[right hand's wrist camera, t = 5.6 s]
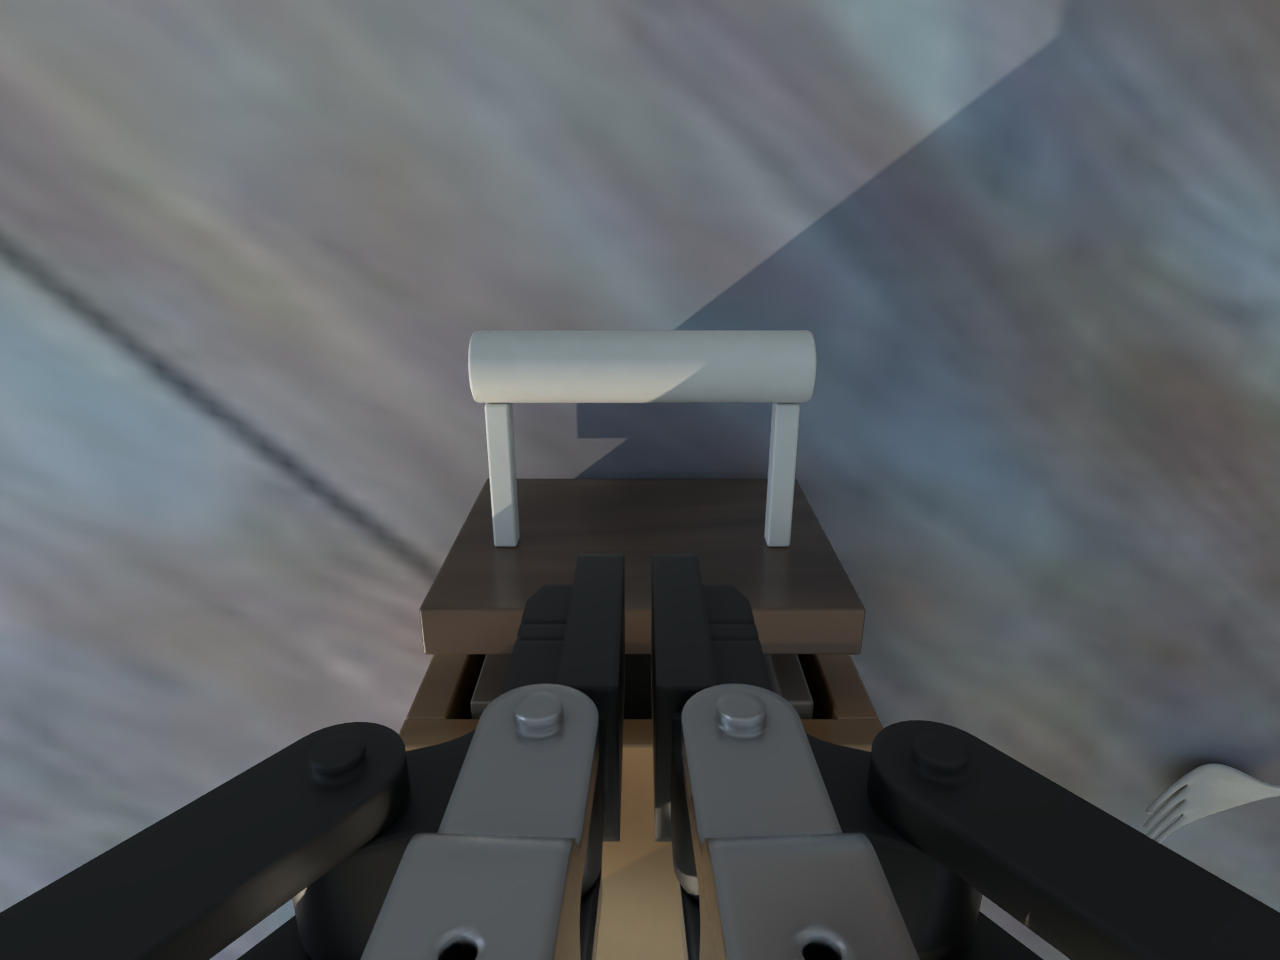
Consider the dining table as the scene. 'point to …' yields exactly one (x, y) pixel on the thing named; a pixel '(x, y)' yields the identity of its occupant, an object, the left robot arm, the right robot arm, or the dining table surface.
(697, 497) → the drawer
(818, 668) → the cabinet
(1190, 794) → the fork
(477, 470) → the dining table surface
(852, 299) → the dining table surface
